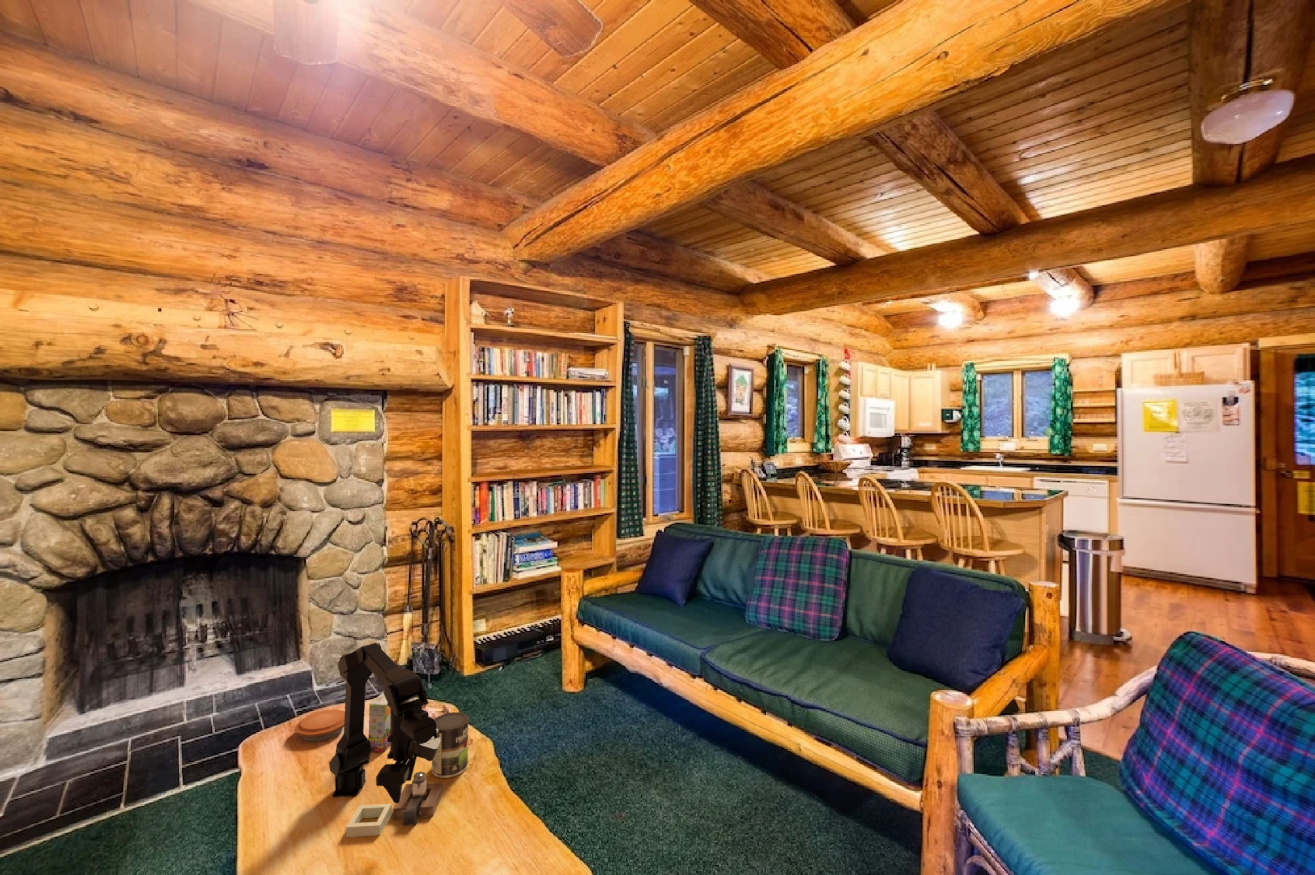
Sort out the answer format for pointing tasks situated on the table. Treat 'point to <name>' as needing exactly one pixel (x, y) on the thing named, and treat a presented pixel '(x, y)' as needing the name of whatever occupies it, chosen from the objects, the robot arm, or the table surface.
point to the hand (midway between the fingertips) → (402, 791)
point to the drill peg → (419, 786)
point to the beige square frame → (369, 828)
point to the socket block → (427, 806)
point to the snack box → (379, 724)
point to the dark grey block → (412, 812)
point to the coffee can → (451, 745)
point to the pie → (321, 725)
